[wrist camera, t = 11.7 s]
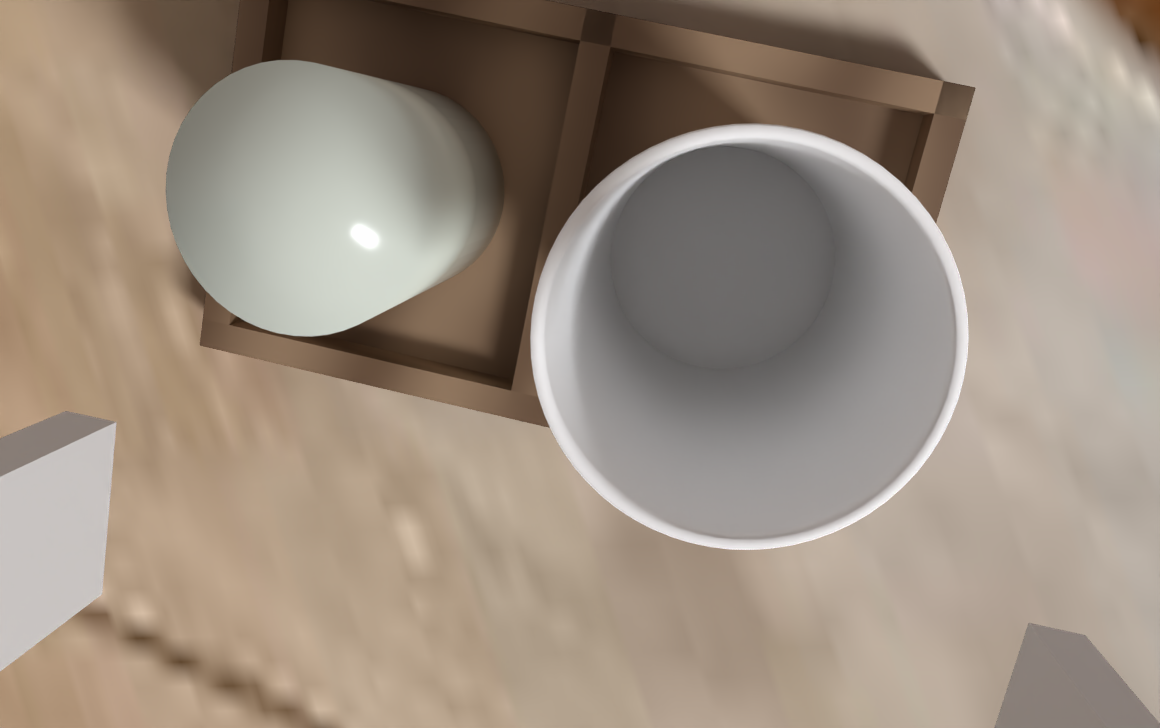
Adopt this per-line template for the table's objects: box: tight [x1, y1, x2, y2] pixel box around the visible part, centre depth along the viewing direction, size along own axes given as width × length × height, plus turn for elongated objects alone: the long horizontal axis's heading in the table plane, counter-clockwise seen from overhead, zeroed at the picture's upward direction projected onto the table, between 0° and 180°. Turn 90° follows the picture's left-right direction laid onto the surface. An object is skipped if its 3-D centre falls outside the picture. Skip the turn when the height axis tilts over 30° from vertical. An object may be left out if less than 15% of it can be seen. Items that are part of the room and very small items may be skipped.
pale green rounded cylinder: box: [166, 60, 504, 336], centre depth 30 cm, size 7×7×10 cm
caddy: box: [200, 0, 975, 428], centre depth 34 cm, size 24×14×2 cm, turn 78°
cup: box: [530, 123, 969, 550], centre depth 26 cm, size 8×8×16 cm
